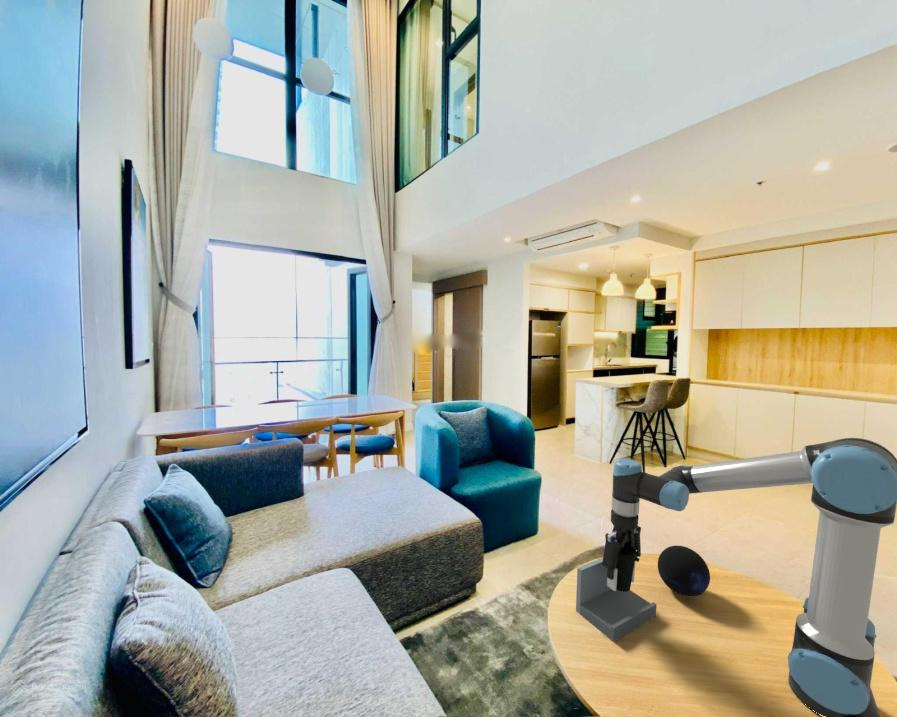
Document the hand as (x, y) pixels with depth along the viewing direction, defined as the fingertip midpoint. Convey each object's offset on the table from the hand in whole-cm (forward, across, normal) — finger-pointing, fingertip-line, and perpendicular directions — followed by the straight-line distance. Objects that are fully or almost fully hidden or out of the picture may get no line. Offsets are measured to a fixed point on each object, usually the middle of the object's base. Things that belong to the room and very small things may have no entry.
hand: (620, 583), depth 115 cm
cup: (+1, 0, 0) cm, 1 cm away
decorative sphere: (+11, -29, +3) cm, 31 cm away
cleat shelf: (+11, 0, -1) cm, 11 cm away
